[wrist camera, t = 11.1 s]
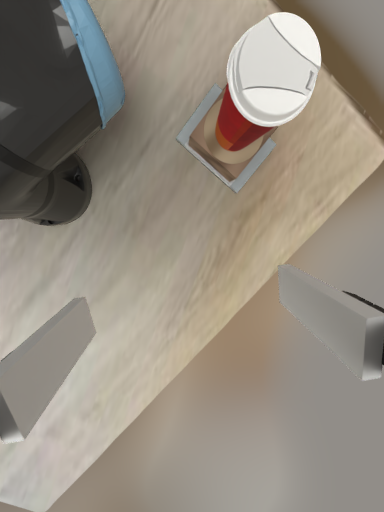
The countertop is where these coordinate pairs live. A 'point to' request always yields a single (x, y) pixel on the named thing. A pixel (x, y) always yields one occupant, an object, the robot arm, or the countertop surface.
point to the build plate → (184, 141)
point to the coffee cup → (267, 79)
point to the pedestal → (217, 156)
